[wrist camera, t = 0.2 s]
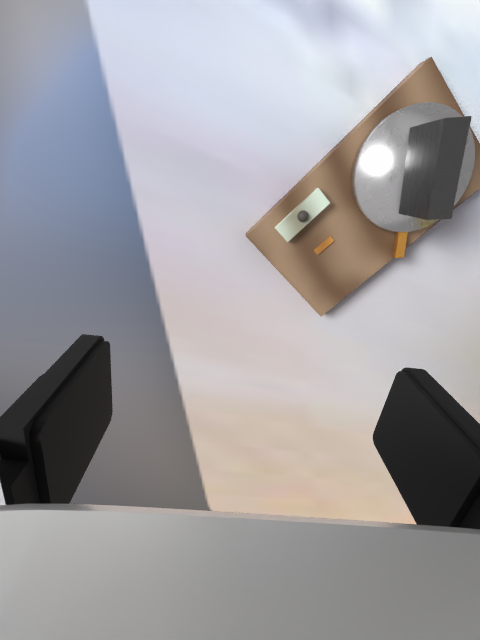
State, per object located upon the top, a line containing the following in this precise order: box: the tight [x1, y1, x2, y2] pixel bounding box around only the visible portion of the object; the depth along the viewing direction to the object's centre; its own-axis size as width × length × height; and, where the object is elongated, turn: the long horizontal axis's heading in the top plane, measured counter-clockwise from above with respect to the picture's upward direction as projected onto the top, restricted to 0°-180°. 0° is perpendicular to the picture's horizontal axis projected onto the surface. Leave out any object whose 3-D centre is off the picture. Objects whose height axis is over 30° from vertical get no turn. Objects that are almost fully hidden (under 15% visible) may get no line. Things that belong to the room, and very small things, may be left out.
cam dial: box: [351, 102, 475, 258], centre depth 31 cm, size 15×12×7 cm
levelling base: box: [246, 57, 480, 316], centre depth 36 cm, size 24×14×4 cm, turn 134°
